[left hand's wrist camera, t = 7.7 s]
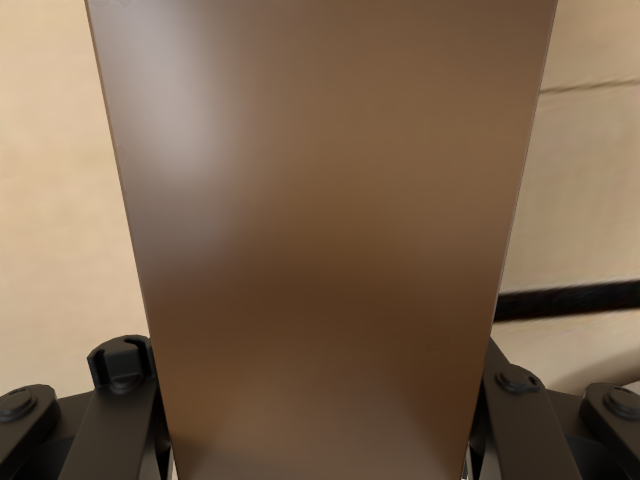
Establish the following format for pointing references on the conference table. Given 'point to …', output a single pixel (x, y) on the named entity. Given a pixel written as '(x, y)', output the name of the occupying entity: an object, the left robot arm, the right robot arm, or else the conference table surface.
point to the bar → (320, 219)
